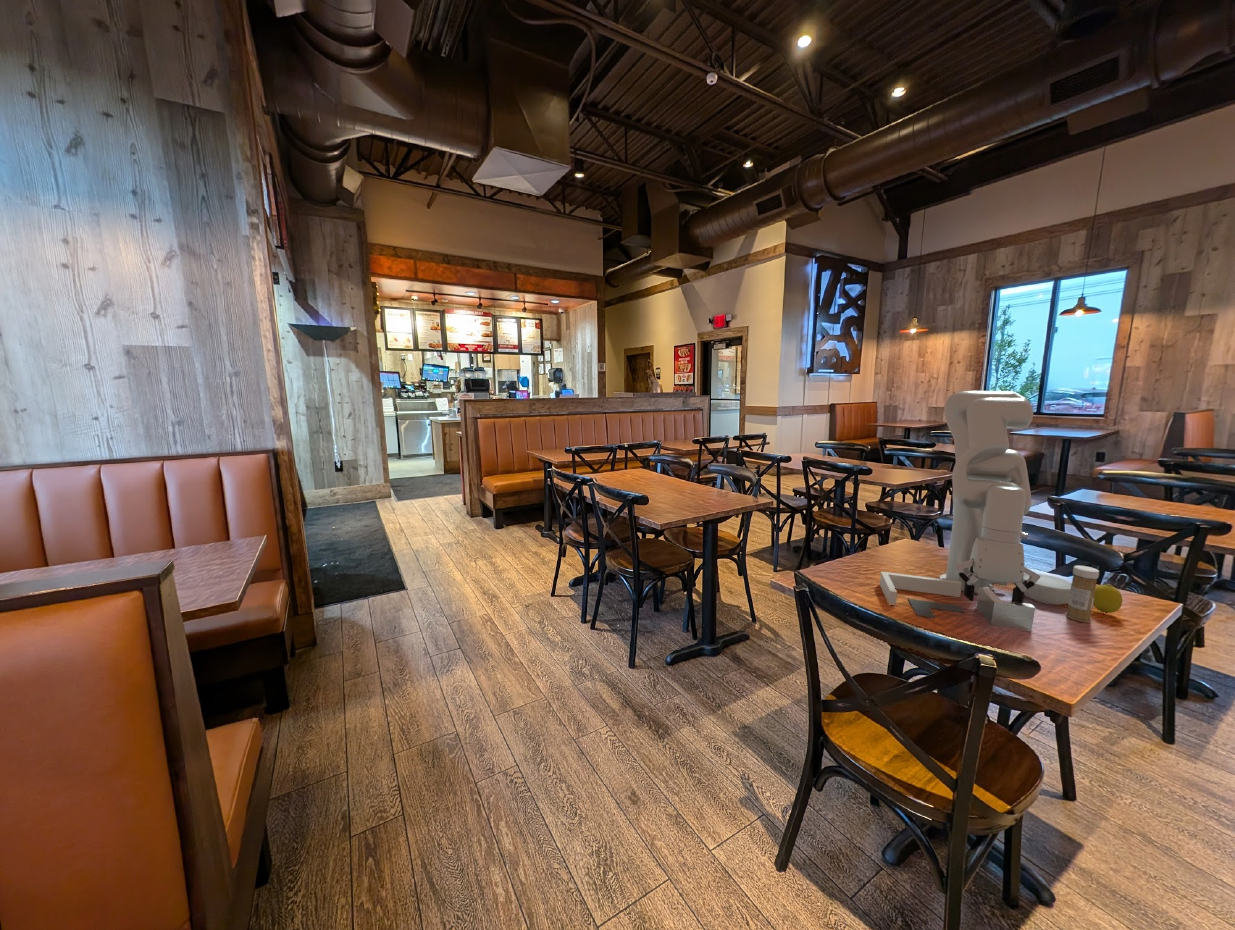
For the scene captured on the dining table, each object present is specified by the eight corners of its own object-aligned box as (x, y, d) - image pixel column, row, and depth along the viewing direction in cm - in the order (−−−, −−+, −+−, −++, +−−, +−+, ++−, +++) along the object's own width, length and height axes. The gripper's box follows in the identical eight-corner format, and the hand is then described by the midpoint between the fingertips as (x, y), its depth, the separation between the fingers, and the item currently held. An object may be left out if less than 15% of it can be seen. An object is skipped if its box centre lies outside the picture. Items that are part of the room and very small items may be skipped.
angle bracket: (976, 607, 125) (979, 586, 124) (1013, 612, 122) (1016, 591, 121) (991, 625, 115) (994, 602, 114) (1031, 631, 113) (1035, 607, 112)
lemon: (1114, 620, 118) (1120, 590, 117) (1085, 611, 123) (1090, 582, 122) (1123, 615, 121) (1128, 586, 119) (1094, 607, 125) (1099, 578, 124)
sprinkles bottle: (1095, 622, 117) (1104, 570, 115) (1081, 624, 116) (1090, 572, 114) (1073, 613, 122) (1082, 564, 119) (1060, 615, 121) (1069, 565, 118)
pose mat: (959, 606, 125) (959, 605, 125) (973, 624, 116) (973, 622, 116) (907, 599, 129) (907, 598, 129) (916, 615, 120) (916, 614, 120)
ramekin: (1011, 587, 138) (1014, 570, 137) (1060, 593, 134) (1063, 576, 133) (1027, 603, 128) (1030, 584, 127) (1080, 610, 123) (1083, 591, 123)
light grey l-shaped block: (958, 594, 132) (959, 581, 132) (976, 618, 119) (979, 603, 118) (879, 584, 139) (880, 571, 138) (888, 605, 125) (890, 591, 125)
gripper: (1036, 535, 116) (1027, 602, 118) (954, 528, 122) (946, 591, 124) (1052, 543, 109) (1042, 614, 111) (963, 535, 115) (956, 602, 117)
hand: (992, 602), depth 118 cm, fingers open, 9 cm apart
